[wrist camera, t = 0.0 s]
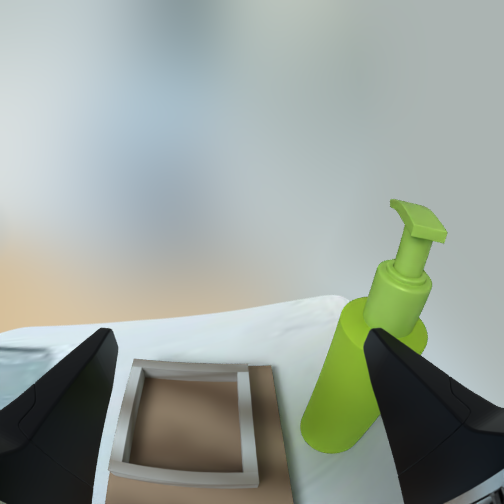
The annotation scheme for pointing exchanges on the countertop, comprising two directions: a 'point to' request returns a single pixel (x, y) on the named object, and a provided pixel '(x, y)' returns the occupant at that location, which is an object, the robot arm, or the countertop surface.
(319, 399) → the soap dispenser
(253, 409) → the walnut holder board
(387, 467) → the countertop surface
